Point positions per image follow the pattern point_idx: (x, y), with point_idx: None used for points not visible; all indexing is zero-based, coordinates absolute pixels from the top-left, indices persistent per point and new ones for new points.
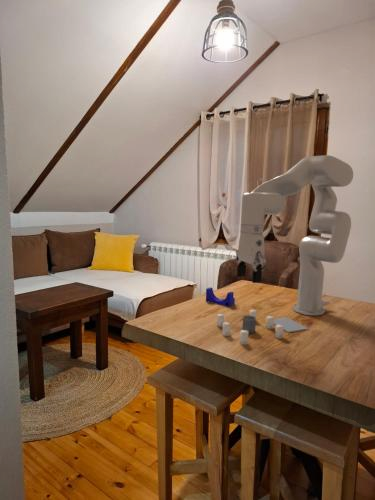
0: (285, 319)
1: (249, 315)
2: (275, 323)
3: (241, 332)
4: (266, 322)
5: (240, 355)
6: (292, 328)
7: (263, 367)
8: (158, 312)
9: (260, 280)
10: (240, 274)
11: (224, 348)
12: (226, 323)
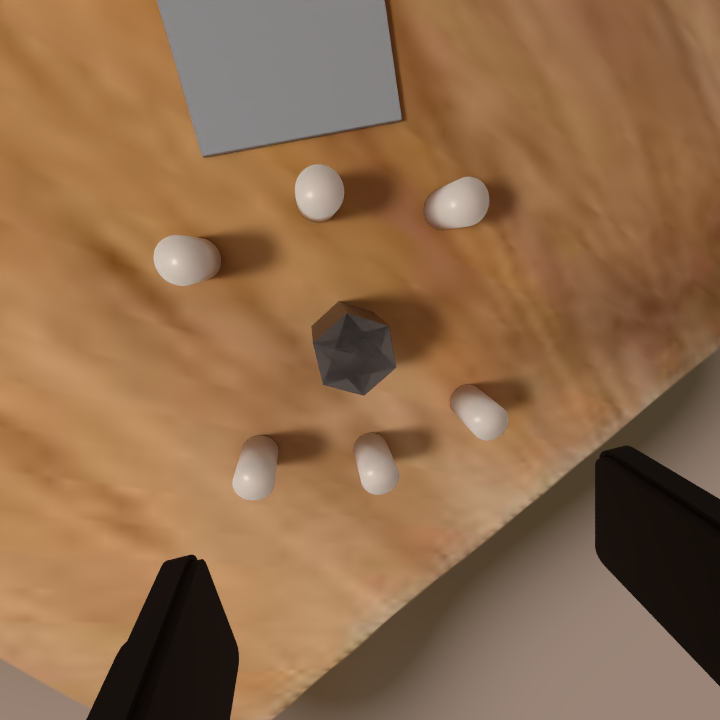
0: (195, 6)
1: (315, 340)
2: (267, 132)
3: (495, 437)
4: (316, 220)
5: (552, 440)
6: (359, 57)
7: (647, 391)
8: (69, 688)
9: (642, 465)
10: (226, 650)
11: (489, 480)
12: (378, 478)
